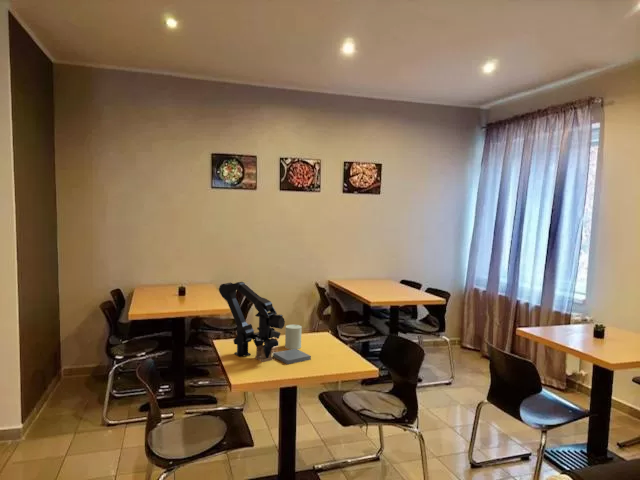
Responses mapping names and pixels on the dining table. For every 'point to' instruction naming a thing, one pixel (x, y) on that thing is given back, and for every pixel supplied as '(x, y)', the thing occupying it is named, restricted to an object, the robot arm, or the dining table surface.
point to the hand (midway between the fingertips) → (263, 356)
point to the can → (293, 336)
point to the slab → (291, 356)
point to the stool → (262, 354)
